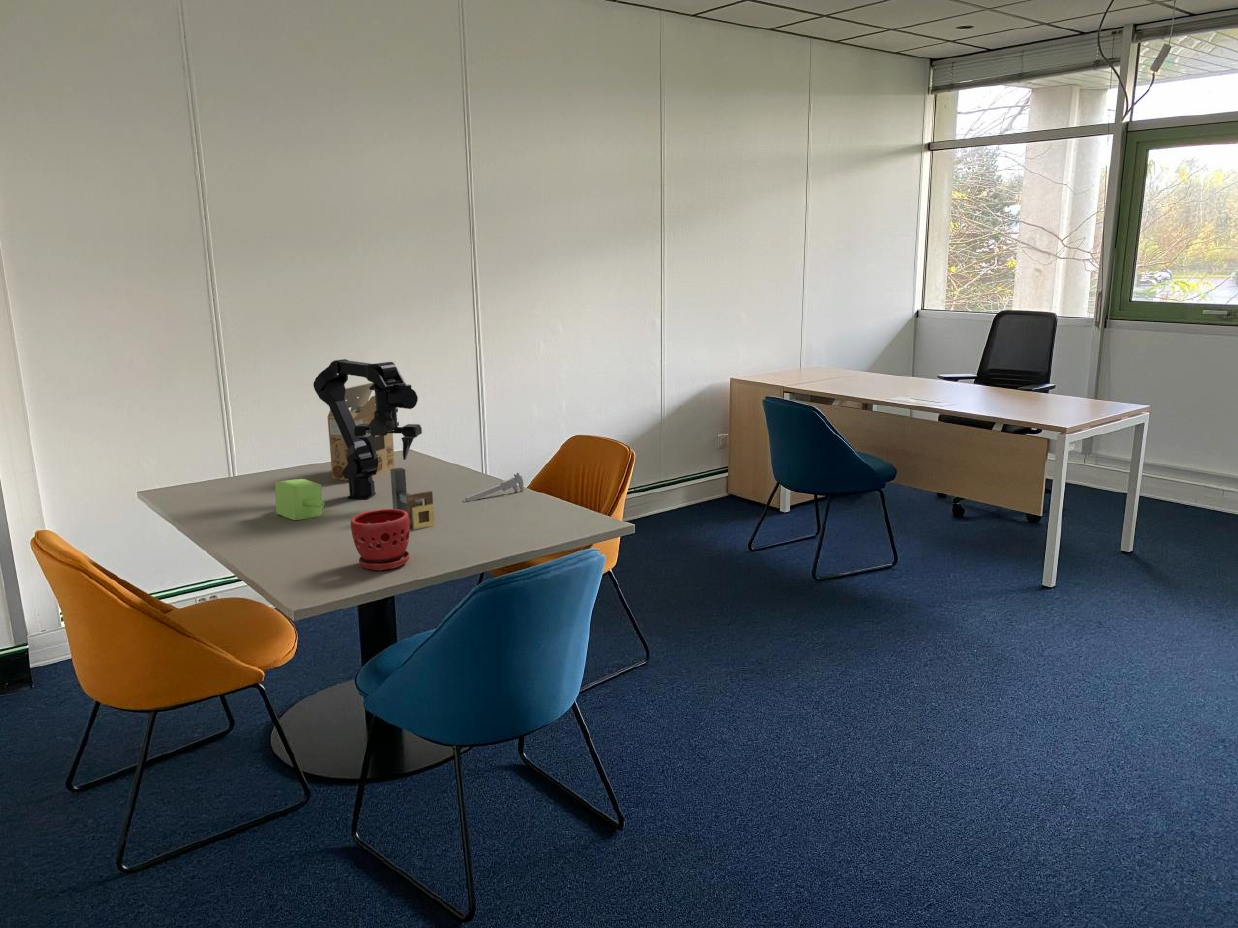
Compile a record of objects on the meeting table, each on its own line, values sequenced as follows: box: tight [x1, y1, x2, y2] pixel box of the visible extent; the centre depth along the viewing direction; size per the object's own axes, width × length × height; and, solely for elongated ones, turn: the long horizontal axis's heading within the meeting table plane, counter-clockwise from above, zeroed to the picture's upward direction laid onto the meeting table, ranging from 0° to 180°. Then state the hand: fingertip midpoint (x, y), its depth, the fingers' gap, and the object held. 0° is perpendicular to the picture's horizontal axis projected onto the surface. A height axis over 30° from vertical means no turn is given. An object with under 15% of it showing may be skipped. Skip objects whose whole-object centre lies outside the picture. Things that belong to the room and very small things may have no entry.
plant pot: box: [350, 508, 411, 571], centre depth 217 cm, size 13×13×12 cm
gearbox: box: [274, 478, 325, 521], centre depth 261 cm, size 18×10×10 cm, turn 47°
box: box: [327, 382, 396, 481], centre depth 308 cm, size 21×20×30 cm
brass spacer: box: [411, 503, 436, 531], centre depth 248 cm, size 1×6×6 cm, turn 127°
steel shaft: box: [389, 467, 424, 512], centre depth 254 cm, size 14×3×13 cm, turn 37°
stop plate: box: [406, 490, 434, 530], centre depth 249 cm, size 4×7×9 cm, turn 127°
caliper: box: [461, 472, 524, 503], centre depth 279 cm, size 20×1×6 cm, turn 127°
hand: (389, 459), depth 271 cm, fingers open, 9 cm apart
